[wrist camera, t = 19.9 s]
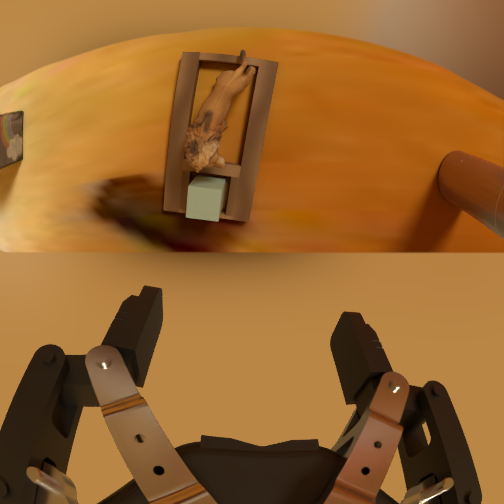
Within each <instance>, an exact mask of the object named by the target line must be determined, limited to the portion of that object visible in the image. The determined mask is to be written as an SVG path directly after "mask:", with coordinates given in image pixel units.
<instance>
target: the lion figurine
mask: <svg viewBox="0 0 504 504" xmlns="http://www.w3.org/2000/svg"><path fill="white" fill-rule="evenodd" d="M245 56H246V54H245V51H244V50H241V54H240V58H241V60H242V65H241V66H240V67H239V68H238V69H237V70H235V71H233V70H230V71H224V72H222V73H221V74H220V75H219V76H218V77H217V78H216V84H215V87H214V89H213V91H212V93H211V94H210V95H209V97H208V98H207V99H206V101H205V102H204V104H203V105H202V107H201V109H200V111H199V114H198V117H197V118H196V119H195V120H194V122H193V124H191V125H190V126H189V127H188V130H187V132H186V134H187V136H186V143H185V145H184V146H185V151H186V153H185V156H186V159H185V160H186V161H187V162H188V163H189V165H190V166H192V167H193V168H195V169H196V172H197V173H198V172H199V171H200V170H201V169H203V167H206V168H210V167H212V166H213V167H215V168H223V167H224V166H225V163H224V162H225V161H224V158H223V157H221V156H220V155H219V154H218V152H217V150H218V148H219V145H220V144H219V141H220V139H221V133H222V131H223V130H224V129H226V128H227V127H228V124H227V121H226V120H225V118H226V116H227V114H228V112H229V109H230V106H231V103H232V99H233V97H234V96H235V95H236V94H238V93H240V92H242V91H243V90H244V89H245V88H246V87H247V86H248V84H249V82H250V79H251V77H252V76H253V75H255V73H256V69H255V67H253V66H250V67H249V68H248V69H247V71H246V73H247V74H246V75H242V73H243V71H244V70H245V68H246V66H247V62H246V59H245Z"/></svg>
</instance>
